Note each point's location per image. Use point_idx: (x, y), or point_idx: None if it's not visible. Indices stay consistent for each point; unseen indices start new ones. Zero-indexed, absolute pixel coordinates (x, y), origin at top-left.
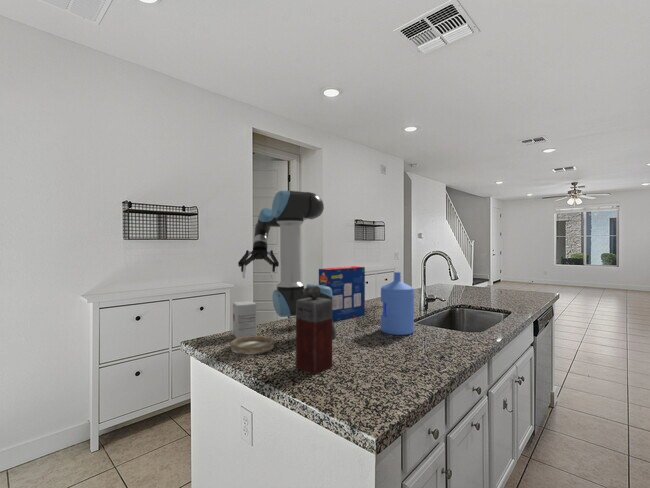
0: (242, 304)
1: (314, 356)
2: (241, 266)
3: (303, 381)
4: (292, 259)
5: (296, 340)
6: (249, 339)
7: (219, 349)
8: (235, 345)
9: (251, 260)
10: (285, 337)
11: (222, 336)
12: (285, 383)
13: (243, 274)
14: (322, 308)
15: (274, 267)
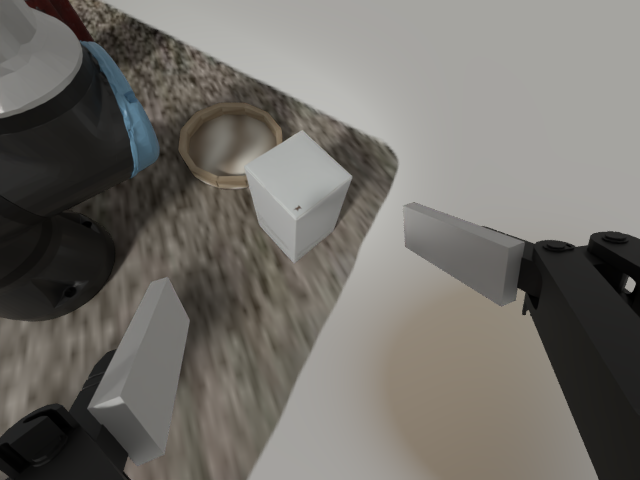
0: (292, 146)
1: None
2: (526, 241)
3: (97, 35)
4: None
5: (77, 15)
6: None
7: (300, 129)
8: (258, 112)
9: (589, 423)
10: (170, 234)
11: (349, 208)
12: (125, 29)
13: (408, 204)
14: None
15: (85, 394)
